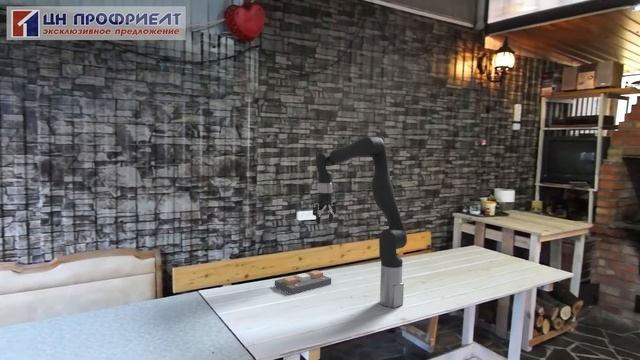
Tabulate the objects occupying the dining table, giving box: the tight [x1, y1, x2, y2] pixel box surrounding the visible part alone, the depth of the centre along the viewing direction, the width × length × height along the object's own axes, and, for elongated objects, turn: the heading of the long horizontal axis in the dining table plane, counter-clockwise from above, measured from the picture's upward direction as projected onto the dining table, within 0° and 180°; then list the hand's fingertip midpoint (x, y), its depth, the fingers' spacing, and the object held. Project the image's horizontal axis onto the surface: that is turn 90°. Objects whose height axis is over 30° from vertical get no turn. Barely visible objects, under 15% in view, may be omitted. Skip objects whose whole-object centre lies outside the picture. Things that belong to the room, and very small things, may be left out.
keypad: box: [274, 272, 332, 296], centre depth 201 cm, size 14×24×3 cm, turn 129°
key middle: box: [295, 272, 311, 282], centre depth 201 cm, size 5×5×3 cm
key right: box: [308, 269, 324, 279], centre depth 206 cm, size 5×5×3 cm
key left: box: [282, 275, 297, 285], centre depth 196 cm, size 5×5×3 cm
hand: (324, 222), depth 212 cm, fingers open, 8 cm apart
